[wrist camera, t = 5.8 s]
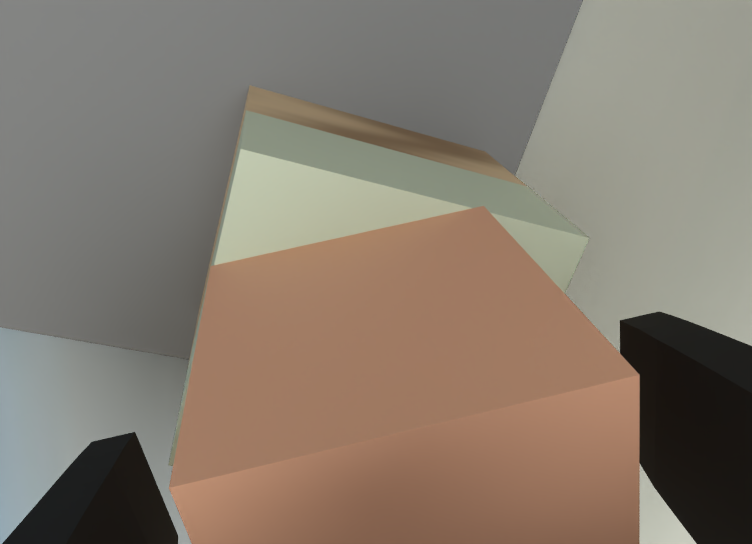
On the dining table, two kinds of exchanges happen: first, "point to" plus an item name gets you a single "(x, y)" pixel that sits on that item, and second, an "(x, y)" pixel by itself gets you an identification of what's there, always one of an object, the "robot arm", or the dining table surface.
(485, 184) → the sage tower top block
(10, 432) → the dining table surface
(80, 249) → the slate mat
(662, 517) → the dining table surface
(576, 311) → the terracotta block
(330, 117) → the oak tower base block
